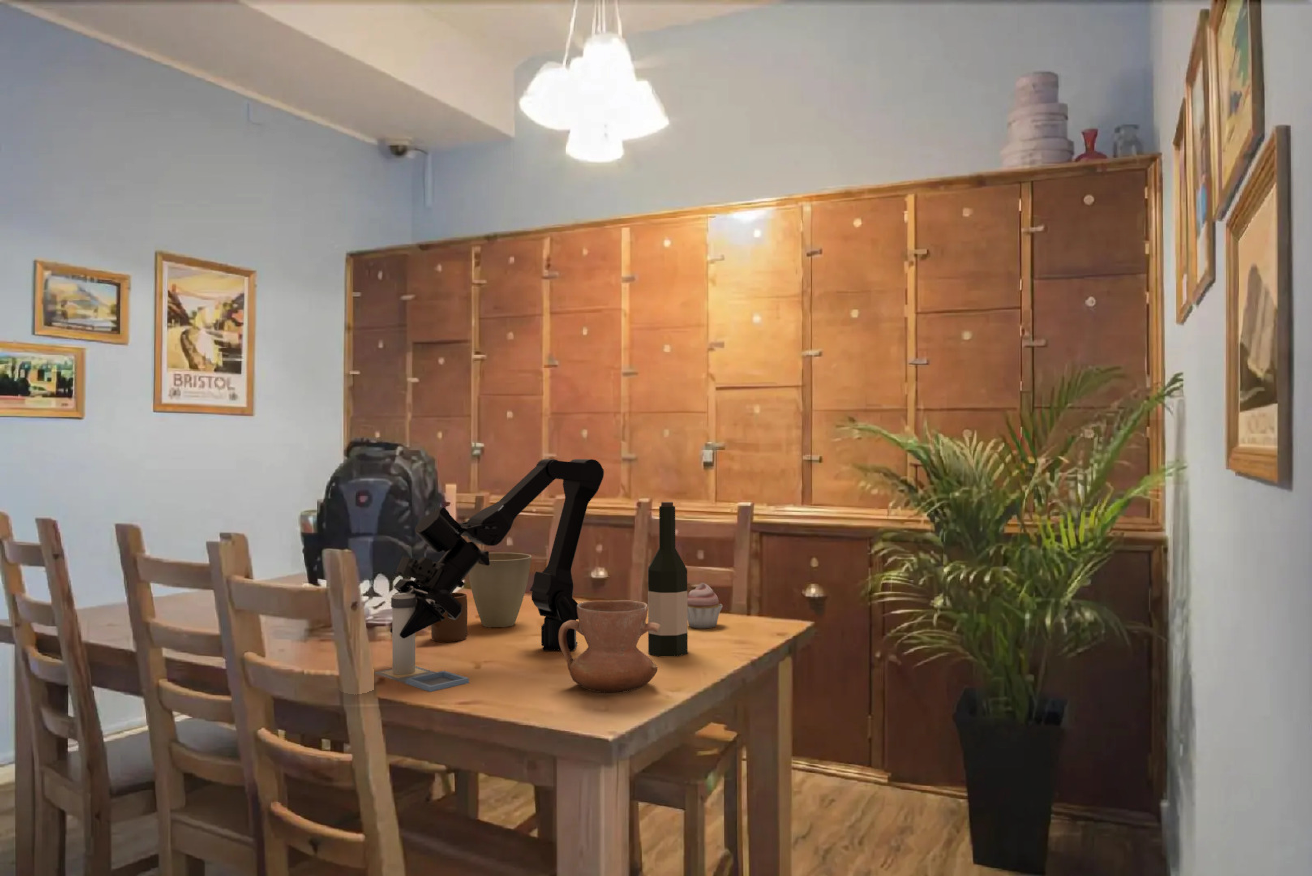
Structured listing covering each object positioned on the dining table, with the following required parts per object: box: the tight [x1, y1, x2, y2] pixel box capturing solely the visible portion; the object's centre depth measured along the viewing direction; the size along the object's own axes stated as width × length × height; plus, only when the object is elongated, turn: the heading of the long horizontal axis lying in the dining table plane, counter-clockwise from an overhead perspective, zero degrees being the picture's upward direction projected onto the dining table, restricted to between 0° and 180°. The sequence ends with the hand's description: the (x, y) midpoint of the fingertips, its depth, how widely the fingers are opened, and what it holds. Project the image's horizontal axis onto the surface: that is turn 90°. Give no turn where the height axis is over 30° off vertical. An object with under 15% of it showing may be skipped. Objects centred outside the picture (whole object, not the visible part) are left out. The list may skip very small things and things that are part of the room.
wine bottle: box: [647, 501, 689, 657], centre depth 181 cm, size 8×8×30 cm
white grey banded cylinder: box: [390, 593, 416, 675], centre depth 164 cm, size 4×4×14 cm
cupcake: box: [687, 582, 723, 629], centre depth 206 cm, size 9×9×10 cm
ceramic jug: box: [558, 599, 661, 694], centre depth 155 cm, size 18×14×14 cm
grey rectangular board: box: [374, 665, 470, 693], centre depth 160 cm, size 19×8×1 cm, turn 46°
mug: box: [430, 592, 468, 643], centre depth 192 cm, size 12×8×9 cm, turn 151°
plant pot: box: [467, 552, 533, 628], centre depth 209 cm, size 15×15×16 cm
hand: (396, 634), depth 163 cm, fingers closed on white grey banded cylinder, 4 cm apart
